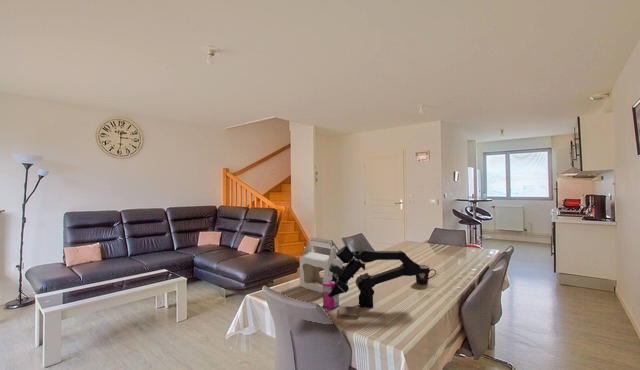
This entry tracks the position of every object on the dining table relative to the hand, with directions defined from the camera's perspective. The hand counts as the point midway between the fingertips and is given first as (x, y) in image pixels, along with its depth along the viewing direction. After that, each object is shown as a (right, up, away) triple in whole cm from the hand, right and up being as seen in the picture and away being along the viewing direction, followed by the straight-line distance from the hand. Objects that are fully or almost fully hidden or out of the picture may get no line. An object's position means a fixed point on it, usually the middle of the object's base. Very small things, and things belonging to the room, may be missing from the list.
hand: (328, 292), depth 145 cm
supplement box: (+1, -7, 0) cm, 7 cm away
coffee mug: (+59, -7, +33) cm, 68 cm away
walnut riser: (+9, -7, -8) cm, 14 cm away
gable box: (-3, -7, +27) cm, 28 cm away
